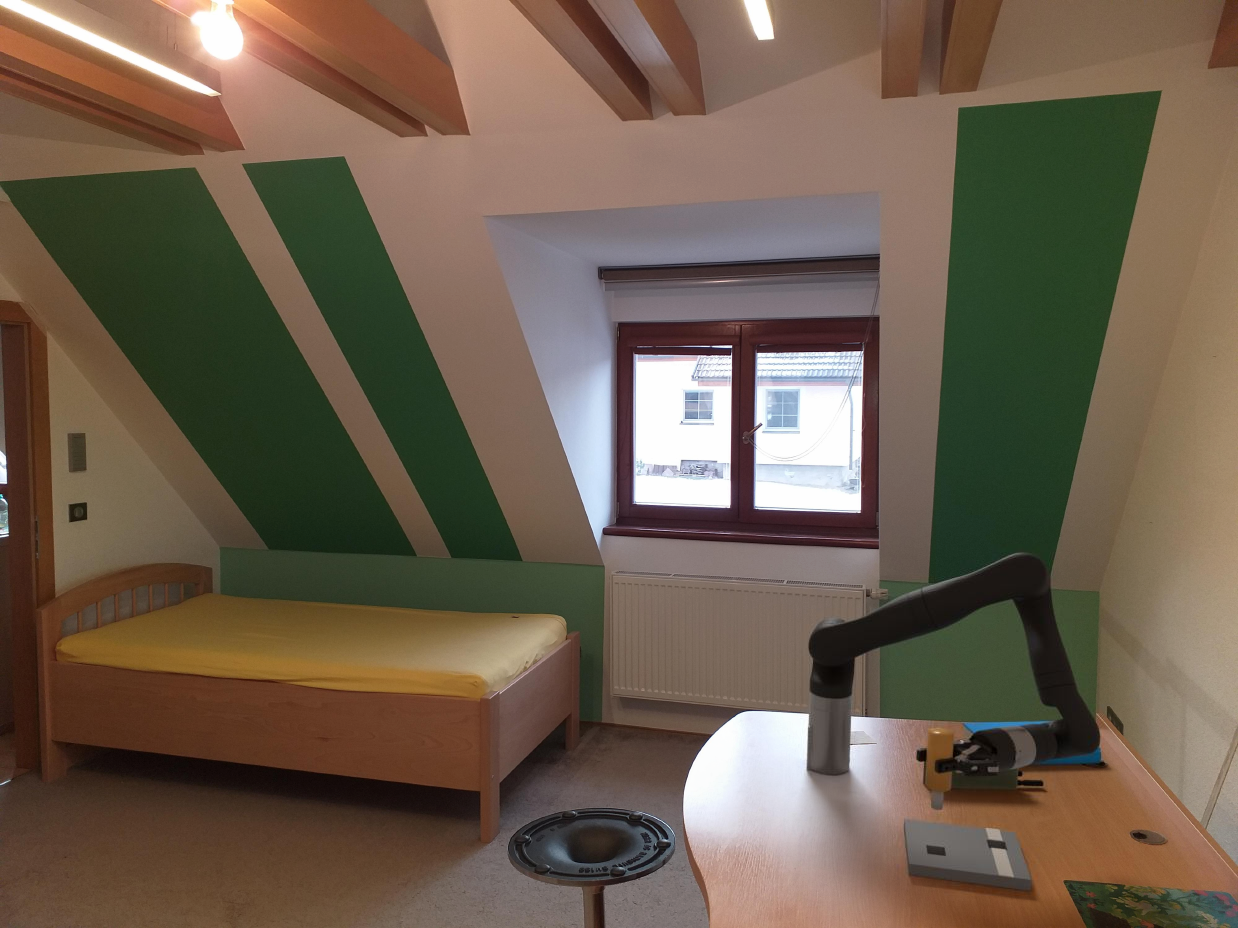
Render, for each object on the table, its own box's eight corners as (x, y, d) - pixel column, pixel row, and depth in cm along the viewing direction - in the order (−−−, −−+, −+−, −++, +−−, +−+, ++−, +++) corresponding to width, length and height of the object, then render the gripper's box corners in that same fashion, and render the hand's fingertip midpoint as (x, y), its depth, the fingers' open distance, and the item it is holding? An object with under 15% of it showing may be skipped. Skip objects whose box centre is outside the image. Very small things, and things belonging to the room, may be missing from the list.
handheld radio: (921, 782, 201) (1039, 784, 200) (926, 789, 198) (1045, 792, 197) (923, 753, 200) (1041, 755, 199) (927, 760, 197) (1047, 762, 196)
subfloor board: (908, 874, 164) (909, 862, 164) (903, 828, 180) (904, 817, 180) (1030, 890, 159) (1031, 878, 159) (1014, 841, 175) (1015, 831, 175)
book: (961, 722, 225) (1060, 718, 227) (961, 739, 226) (1060, 735, 228) (996, 751, 208) (1102, 747, 210) (995, 770, 209) (1101, 765, 211)
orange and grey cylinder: (924, 811, 166) (928, 735, 164) (923, 799, 170) (927, 726, 168) (950, 814, 165) (955, 738, 163) (948, 803, 169) (952, 728, 167)
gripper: (976, 714, 178) (902, 726, 172) (1033, 743, 164) (955, 757, 158) (974, 752, 178) (900, 765, 172) (1031, 784, 165) (953, 799, 159)
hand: (927, 761), depth 165 cm, fingers closed on orange and grey cylinder, 4 cm apart
